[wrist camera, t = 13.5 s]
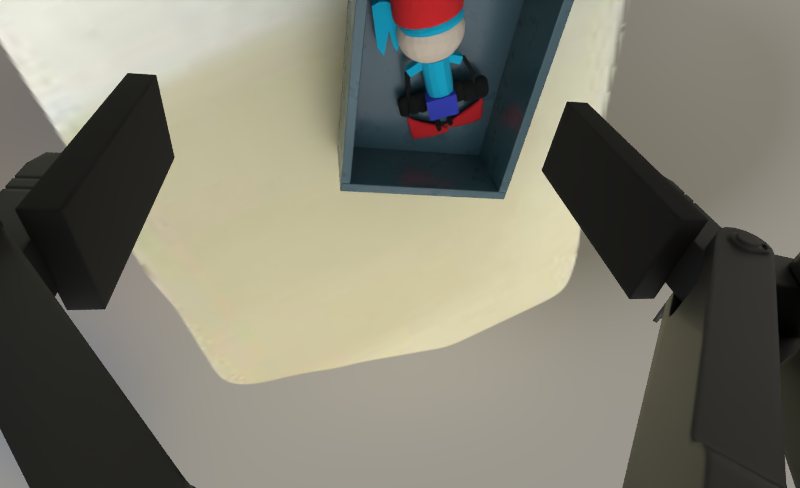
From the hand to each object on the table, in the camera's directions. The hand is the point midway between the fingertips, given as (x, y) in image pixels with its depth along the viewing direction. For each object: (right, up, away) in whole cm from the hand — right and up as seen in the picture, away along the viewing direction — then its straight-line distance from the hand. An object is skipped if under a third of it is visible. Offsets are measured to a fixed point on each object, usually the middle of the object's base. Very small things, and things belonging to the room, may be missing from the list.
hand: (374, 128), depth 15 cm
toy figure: (+3, +12, +20) cm, 23 cm away
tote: (+3, +12, +20) cm, 23 cm away
